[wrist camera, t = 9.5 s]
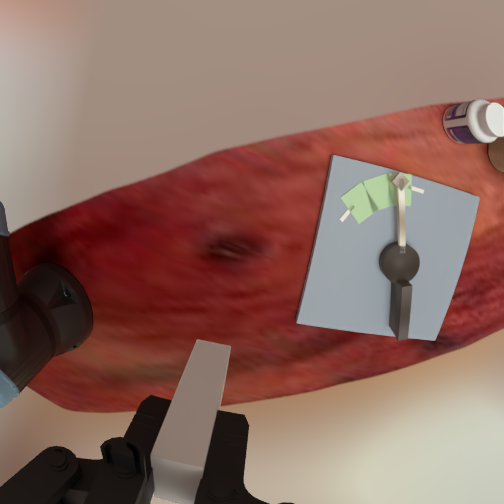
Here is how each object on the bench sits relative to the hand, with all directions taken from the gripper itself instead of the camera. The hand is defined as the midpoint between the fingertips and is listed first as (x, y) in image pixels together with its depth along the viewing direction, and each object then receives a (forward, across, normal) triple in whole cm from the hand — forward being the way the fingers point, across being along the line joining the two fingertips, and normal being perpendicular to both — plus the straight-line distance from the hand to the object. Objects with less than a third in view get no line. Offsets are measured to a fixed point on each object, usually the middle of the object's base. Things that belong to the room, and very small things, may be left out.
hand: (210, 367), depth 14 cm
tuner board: (+28, +19, 0) cm, 34 cm away
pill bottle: (+28, +25, +20) cm, 43 cm away
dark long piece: (+27, +19, 0) cm, 33 cm away
